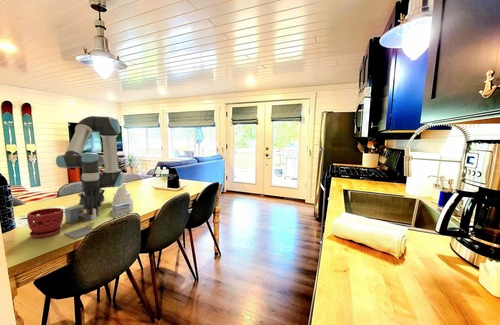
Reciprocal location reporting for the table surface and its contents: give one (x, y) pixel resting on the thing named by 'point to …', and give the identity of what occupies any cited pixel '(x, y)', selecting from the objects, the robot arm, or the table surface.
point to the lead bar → (84, 216)
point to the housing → (75, 213)
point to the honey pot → (122, 197)
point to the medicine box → (121, 209)
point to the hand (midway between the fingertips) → (93, 219)
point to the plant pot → (45, 222)
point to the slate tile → (79, 232)
